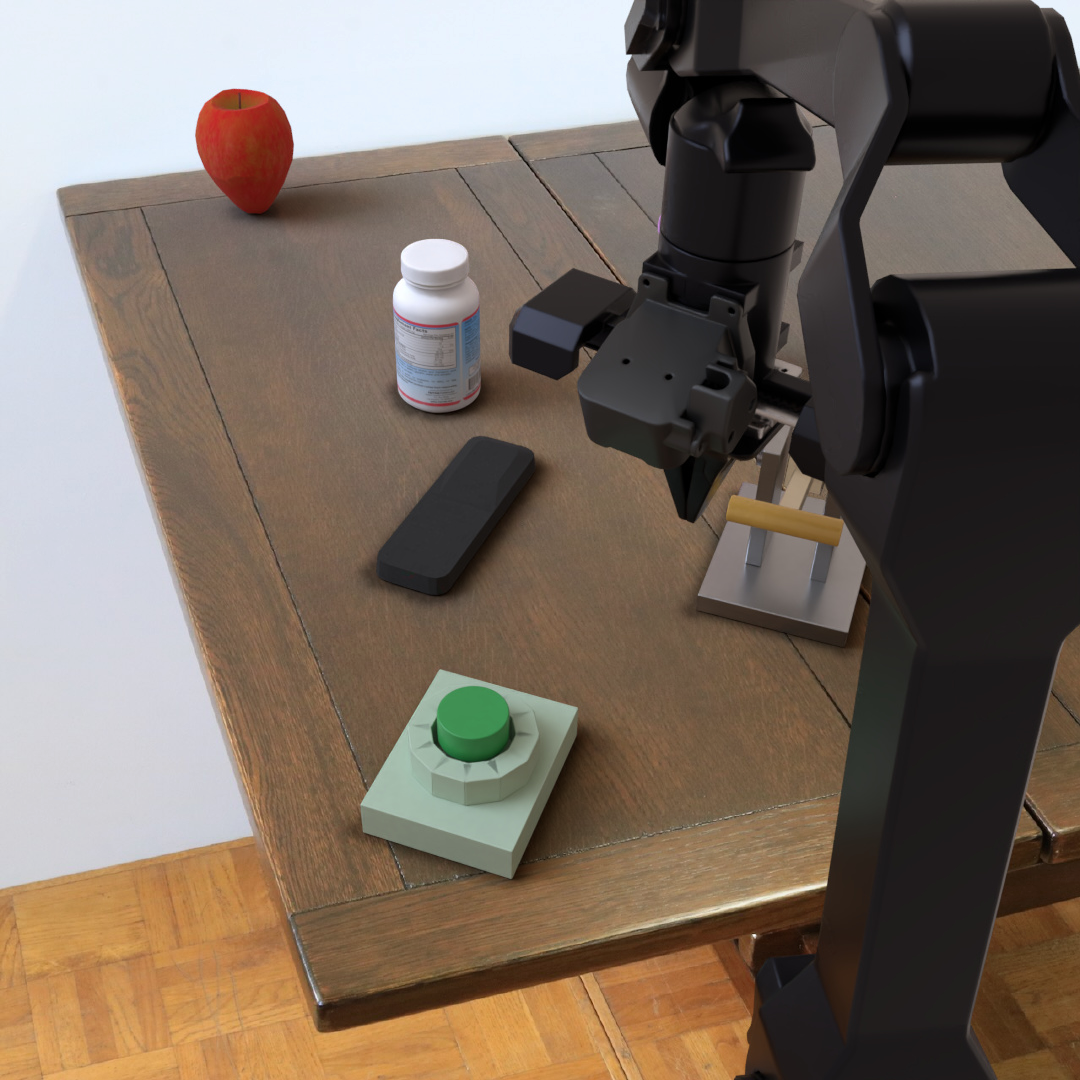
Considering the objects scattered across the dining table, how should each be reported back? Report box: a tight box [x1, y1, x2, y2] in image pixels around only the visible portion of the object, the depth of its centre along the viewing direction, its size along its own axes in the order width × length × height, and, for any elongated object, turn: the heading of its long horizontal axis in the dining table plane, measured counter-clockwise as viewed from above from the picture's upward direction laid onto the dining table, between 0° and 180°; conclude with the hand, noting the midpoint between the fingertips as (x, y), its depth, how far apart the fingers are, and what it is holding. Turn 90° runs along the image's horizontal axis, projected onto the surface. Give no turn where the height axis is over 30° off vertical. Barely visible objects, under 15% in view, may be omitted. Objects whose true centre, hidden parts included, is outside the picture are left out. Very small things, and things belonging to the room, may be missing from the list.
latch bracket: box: [695, 425, 867, 648], centre depth 80 cm, size 12×9×10 cm
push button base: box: [360, 668, 579, 880], centre depth 68 cm, size 10×8×4 cm
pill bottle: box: [392, 238, 482, 414], centre depth 93 cm, size 6×6×11 cm
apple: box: [194, 88, 295, 215], centre depth 115 cm, size 9×8×11 cm
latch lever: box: [725, 454, 844, 547], centre depth 74 cm, size 11×6×2 cm, turn 160°
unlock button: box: [437, 686, 509, 762], centre depth 66 cm, size 4×4×2 cm
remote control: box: [375, 435, 537, 596], centre depth 85 cm, size 5×2×15 cm
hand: (690, 516), depth 66 cm, fingers closed
